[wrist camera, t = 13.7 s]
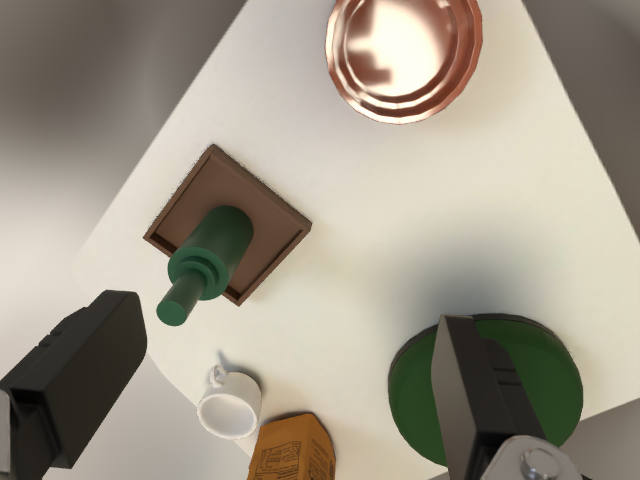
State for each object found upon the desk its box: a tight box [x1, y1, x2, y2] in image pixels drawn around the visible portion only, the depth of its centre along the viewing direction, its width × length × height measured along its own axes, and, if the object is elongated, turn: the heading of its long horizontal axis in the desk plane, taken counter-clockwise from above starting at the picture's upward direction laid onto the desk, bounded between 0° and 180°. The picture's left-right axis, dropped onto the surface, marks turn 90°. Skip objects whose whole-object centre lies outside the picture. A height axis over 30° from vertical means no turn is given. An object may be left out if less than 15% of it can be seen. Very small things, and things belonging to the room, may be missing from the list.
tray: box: [143, 144, 312, 307], centre depth 47 cm, size 13×13×2 cm
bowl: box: [325, 0, 483, 125], centre depth 37 cm, size 12×12×5 cm
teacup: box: [197, 365, 262, 439], centre depth 56 cm, size 10×8×5 cm
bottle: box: [156, 205, 254, 326], centre depth 41 cm, size 6×6×16 cm
